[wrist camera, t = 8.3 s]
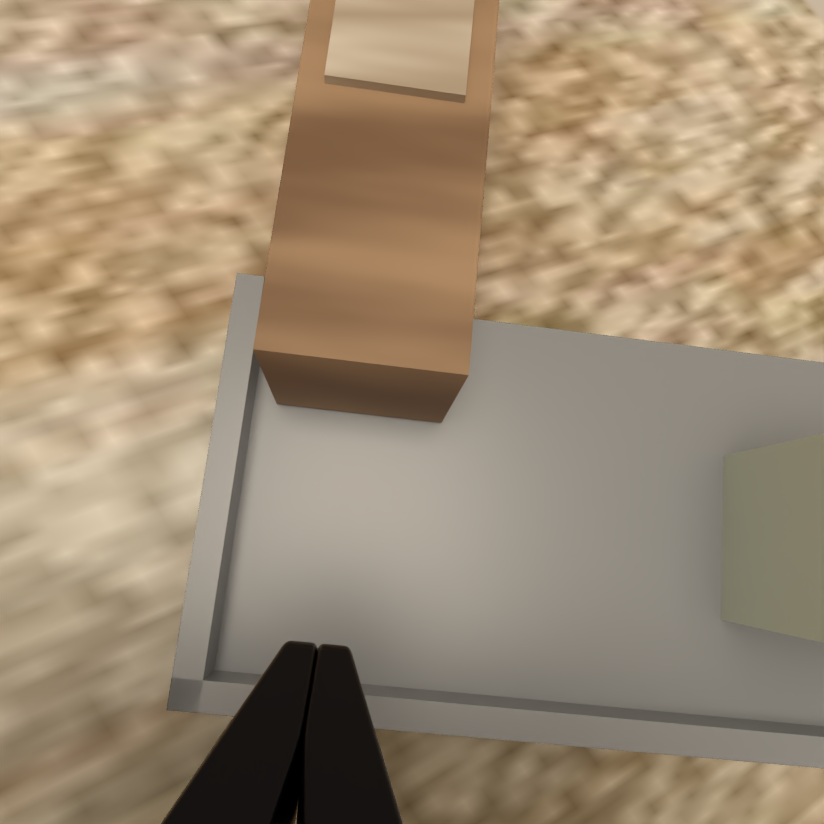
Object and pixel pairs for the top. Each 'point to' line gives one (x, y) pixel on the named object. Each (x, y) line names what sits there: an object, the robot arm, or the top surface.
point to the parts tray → (507, 547)
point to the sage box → (775, 538)
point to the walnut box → (380, 209)
